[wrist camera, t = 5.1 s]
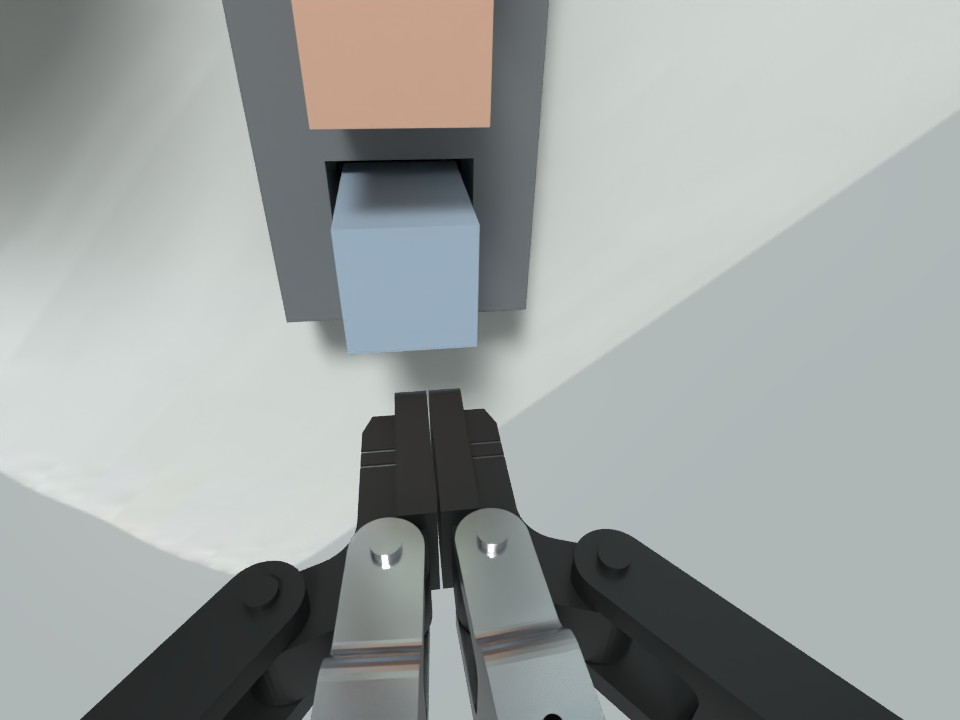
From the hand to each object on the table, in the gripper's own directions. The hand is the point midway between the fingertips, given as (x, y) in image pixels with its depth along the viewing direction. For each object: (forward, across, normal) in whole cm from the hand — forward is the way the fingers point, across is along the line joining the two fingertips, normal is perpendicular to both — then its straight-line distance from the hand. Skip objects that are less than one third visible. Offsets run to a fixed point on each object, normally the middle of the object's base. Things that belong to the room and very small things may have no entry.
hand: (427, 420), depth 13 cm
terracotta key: (+12, 0, -8) cm, 14 cm away
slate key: (+13, 0, 0) cm, 13 cm away
